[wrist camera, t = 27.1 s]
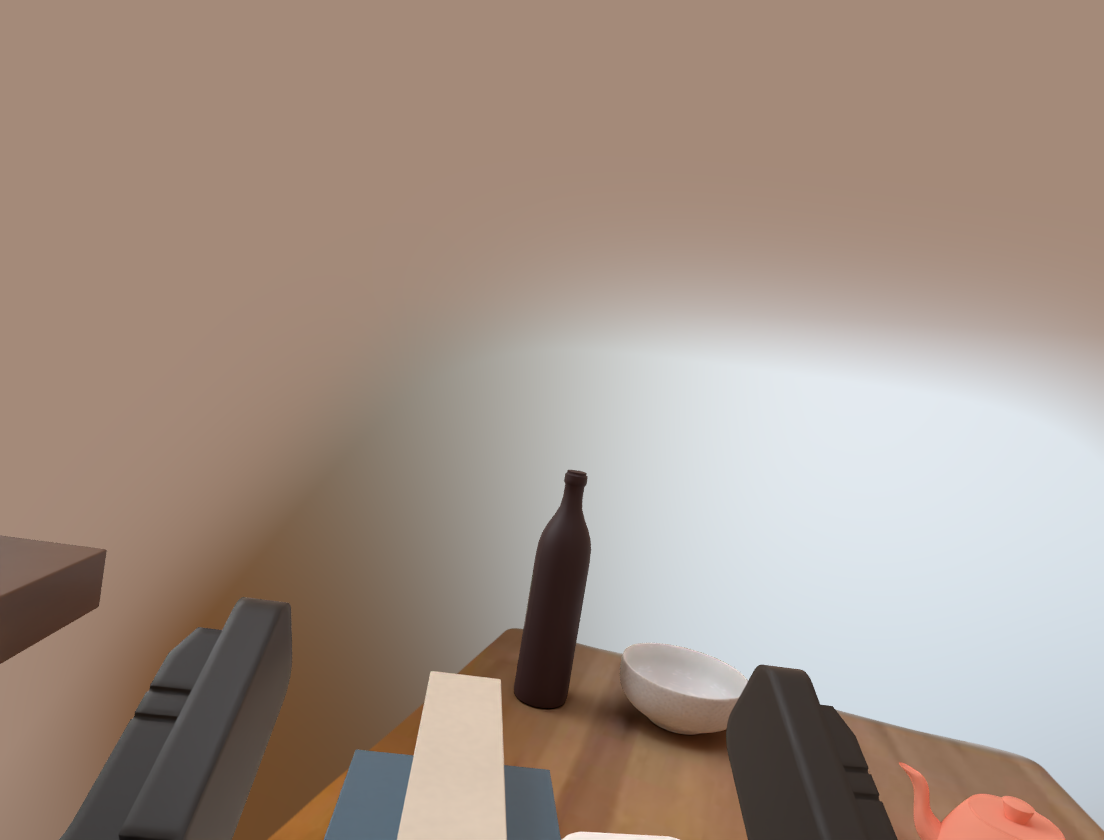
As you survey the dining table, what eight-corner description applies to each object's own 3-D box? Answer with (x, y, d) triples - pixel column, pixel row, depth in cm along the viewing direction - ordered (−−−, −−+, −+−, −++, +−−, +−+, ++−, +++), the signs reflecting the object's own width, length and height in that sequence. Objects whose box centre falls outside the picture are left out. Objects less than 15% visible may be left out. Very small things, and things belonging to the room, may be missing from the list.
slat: (355, 1057, 18) (366, 987, 18) (425, 704, 38) (430, 670, 38) (501, 1066, 19) (513, 998, 19) (495, 712, 38) (500, 678, 38)
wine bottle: (560, 686, 92) (596, 471, 91) (571, 711, 85) (610, 479, 84) (510, 682, 91) (545, 464, 90) (516, 707, 84) (555, 471, 83)
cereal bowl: (750, 769, 78) (761, 710, 78) (609, 735, 81) (619, 678, 80) (732, 705, 95) (741, 657, 95) (616, 679, 98) (624, 632, 97)
